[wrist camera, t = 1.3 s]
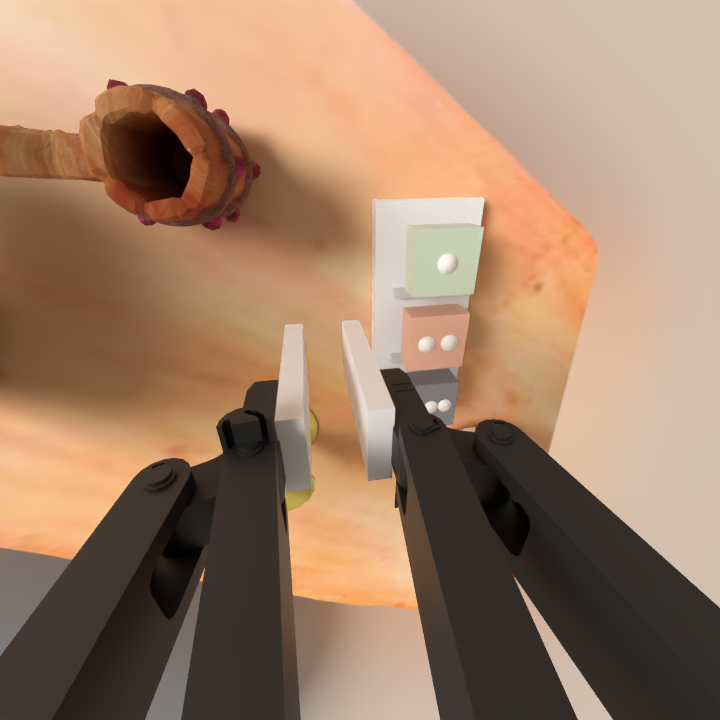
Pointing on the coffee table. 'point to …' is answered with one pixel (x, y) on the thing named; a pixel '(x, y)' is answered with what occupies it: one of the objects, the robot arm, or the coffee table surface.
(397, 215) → the board
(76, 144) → the mug
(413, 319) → the tile terracotta
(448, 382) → the tile charcoal
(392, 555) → the coffee table surface
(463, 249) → the tile sage
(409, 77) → the coffee table surface
